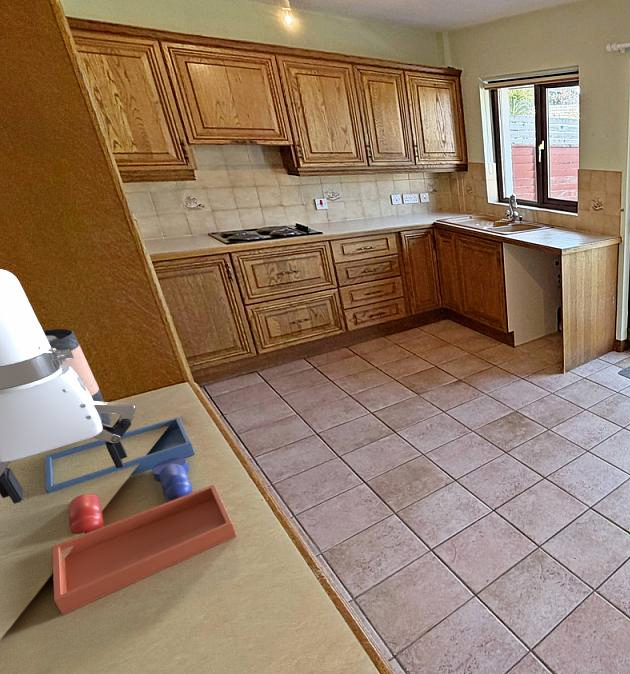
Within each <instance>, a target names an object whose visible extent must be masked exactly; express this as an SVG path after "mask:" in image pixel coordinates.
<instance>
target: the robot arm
mask: <svg viewBox="0 0 630 674" xmlns="http://www.w3.org/2000/svg"><path fill="white" fill-rule="evenodd" d="M18 279H19V278H17V277H16V275H14V274H13V273H12V272H10V271H8V270H6V269H1V268H0V496H1V498H2V499H5V498H8V497H9V498H10V500H11V501H12V503H13V504H14V505H15V504H18V503H21V502H22V501H23V500H24V489H23V487H22V485H21V483H20V482H19V480H18V478H17V477H16V475H15V473H14V472H13V470H12V468H11V467H8V466H9V465H10V464H11V462H15V461H19V460H23V459H27V458H30V457H33V456H36V455H40V454H43V453H46V452H49V451H50V452H51V451H53V450H56V449H60V448H63V447H66V446H67V447H68V446H71V445H73V444H76V443H80V442H82V441H86V440H89V439H92V438H93V439H97V440H103V441H105V442H106V444H105V447H106V449H107V452H108V453H109V456H110V458H111V460H112V462H113V464H114V466H116V468H122V467H124V466H123V463H124V462H123V460H124V459H126V458H128V454H127V451H126V449H125V447H124V445H123V442H122V439H121V437H122V436H123V435H124V433H126V432H128V429H129V428H131V426H132V421H133V419H134V416H135V413H136V406H135V404H134V403H132V402H119V401H118V402H117V401H115V402H114V401H104V402H98V401H93V399H92V397H91V395H90V393H89V392H88V390H87V388H86V387H85V385H84V384H83V382H82V381H81V379H80V378H79V377H78V375H77V374H76V373H75V371H74V370H73V369H72V368H71V367H70V366H69V365H65V364H62V362H64V361H66V360H69V359H74V357H73V355H72V352H71V350H70V349H66V350H56V348H55V349H53V348H52V346H51V345H50V344H49V342H48V340H47V338H46V336H45V334H44V332H43V331H44V330H43V327H42V325H41V324H40V321H39V320H38V318H37V316H36V313H35V312H34V309H33V307H32V305H31V303H30V302H29V301H30V300H29V299H28V297H27V295H26V292H25V291H24V289H23V287H22V284H21V282H20V281H19V280H18ZM61 364H62V365H61ZM100 413H108V414H112V415H113V414H116V415H119V418H118V419H117V420H116V422H115V423H114V424H113V425H111V424H110V425H106V424H103V423H101V420H102V418H101V415H100Z"/></svg>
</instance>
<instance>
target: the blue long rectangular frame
mask: <svg viewBox="0 0 630 674" xmlns="http://www.w3.org/2000/svg"><path fill="white" fill-rule="evenodd" d="M167 426H168V427H167ZM163 427H167V428H166V430H164V431H163V433H162V434H161V435H160V436H159V438H158V439H157V440H156V442H155V444H154V445H153V446H152V447H151V448H150V450H148V452H147V453H146V455H144V456H141V457H137V458H133V459H130V460H128V461H125V462H123V466H124V467H122V468H116V466H115V465H111V466H109V467H106V468H103V469H100V470H97V471H94V472H91V473H87V474H85V475H81V476H78V477H75V478H73V479H69V480H65V481H63V482H59V483H57V484H54V469H53V467H54V466H53V461H54V460H56V459H59V458H62V457H66V456H69V455H72V454H76V453H79V452H82V451H86V450H90V449H93V448H96V447H99V446H103V445H106V442H105V441H103V440H100V439H97V440H95V441H92V442H89V443H85V444H82V445H78V446H75V447H71V448H68V449H65V450H61V451H57V452H54V453H51V454H47V455H45V456H44V461H45V463H44V464H45V465H44V466H45V467H44V469H45V471H44V472H45V492H46V493H47V494H51V493H54V492H57V491H60V490H63V489H66V488H69V487H72V486H75V485H78V484H81V483H85V482H88V481H90V480H93V479H97V478H99V477H102V476H105V475H109V474H111V473H115V472H117V471H120V470H123V469H127V468H130V467H132V466H135V465H137V466H136V467H135V468H134V470H133V471H132V472H131V473H130V475H129V476H130V477H132V476H135V475H138V474H140V473H141V474H142V473H144V472H147V471H149V470H152V469H153V468H154V467H155V466H156V465H157V464H159V463H161V462H163V461H165V460H168V459H171V458H184V459H186V458H187V457H190V456H191V457H192V456H194V455H196V453H195V450H194V448H193V447H194V446H193V444H192V442H191V439H190V437H189V435H188V432H187V431H186V428H185V426H184V424H183V422H182V420H181V418H180V416H177V417H174V418H171V419H167V420H164V421H160V422H157V423H153V424H150V425H147V426H144V427H140V428H137V429H133V430H130V431H126V432H125V433H124V435H123V436H122V437H121V440H123V439H126V438H130V437H133V436H136V435H140V434H143V433H147V432H150V431H154V430H157V429H160V428H163Z"/></svg>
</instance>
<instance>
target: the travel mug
mask: <svg viewBox="0 0 630 674" xmlns="http://www.w3.org/2000/svg"><path fill="white" fill-rule="evenodd" d="M43 332H44V334H45V336H46V338H47V340H48V342H49V344H50V345H51V346H52V348H53V349H55V348H56V350H66V349H70V350H71V352H72V355H73V357H74V359H69V360H66V361H64V362H62V364H65V365H69V366H70V367H71V368H72V369H73V370H74V371H75V373H76V374H77V375H78V377H79V378H80V379H81V381H82V382H83V384H84V385H85V387H86V388H87V390H88V392H89V393H90V395H91V397H92V399H93V401H98V402H105V401H104V399H103V395H102V393H101V390H100V388H99V385H98V383H97V381H96V378H95V377H94V374H93V371H92V370H91V367H90V365H89V364H88V363H89V362H88V360H87V359H86V356H85V354H84V352H83V350H82V347H81V345H80V343H79V340H78V338H77V337H76V336H77V335H76V334H75V332H74V331H73V330H71V329H67V328H54V329H53V328H52V329H46V330H45V329H44V330H43ZM62 364H61V365H62ZM100 415H101V418H102V420H101V423H103V424H106V425H110V426H111V424H112V419H111V416H110V413H100Z"/></svg>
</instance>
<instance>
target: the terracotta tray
mask: <svg viewBox="0 0 630 674" xmlns="http://www.w3.org/2000/svg"><path fill="white" fill-rule="evenodd" d="M236 537H237V533H236V530H235V527H234V524H233V522H232V520H231V518H230V516H229V513H228V510H227V509H226V507H225V504H224V502H223V500H222V498H221V496H220V493H219V492H218V489H217V487H216V485H215V484H211V485H209V486H206V487H203V488H200V489H198V490H196V491H192V493H190V494H188V495H185V496H182V497H180V498H177V499H175V500H172V501H169V500H168V501H167V502H164V503H162V504H159V505H157V506H154V507H151V508H149V509H145V510H143V511H141V512H139V513H136V514H132V515H130V516H128V517H125V518H123V519H120V520H117V521H115V522H112V523H110V524H106V525H103V527H101V528H99V529H96V530H94V531H91V532H88V533H86V534H84V533H82V534H81V535H78V536H76V537H73V538H70V539H68V540H67V539H66V540H65V541H63V542H59V543H57V544H54V545H52V547H51V548H52V572H53V573H52V577H53V601H54V604H55V605H56V607H57V608H58V611H59V612H60V613H61V615H62V616H64V615H67V614H69V613H71V612H73V611H75V610H77V609H80V608H82V607H84V606H87V605H88V604H90V603H93V602H95V601H97V600H99V599H101V598H104V597H106V596H108V595H110V594H113V593H115V592H117V591H119V590H121V589H124V588H126V587H128V586H130V585H132V584H134V583H137V582H140V581H141V580H144V579H146V578H147V577H150V576H152V575H154V574H156V573H160V572H161V571H163V570H165V569H168V568H170V567H172V566H174V565H176V564H179V563H181V562H183V561H185V560H187V559H189V558H192V557H194V556H196V555H198V554H201V553H203V552H205V551H207V550H209V549H212V548H214V547H216V546H218V545H220V544H222V543H225V542H227V541H229V540H231V539H233V538H236ZM68 548H71V550H70V551H69V552H68V553H67V555H66V556H65V557H64V558H63V557H62V556H63V555H62V551H63V550H66V549H68ZM62 559H63V560H62Z"/></svg>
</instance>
